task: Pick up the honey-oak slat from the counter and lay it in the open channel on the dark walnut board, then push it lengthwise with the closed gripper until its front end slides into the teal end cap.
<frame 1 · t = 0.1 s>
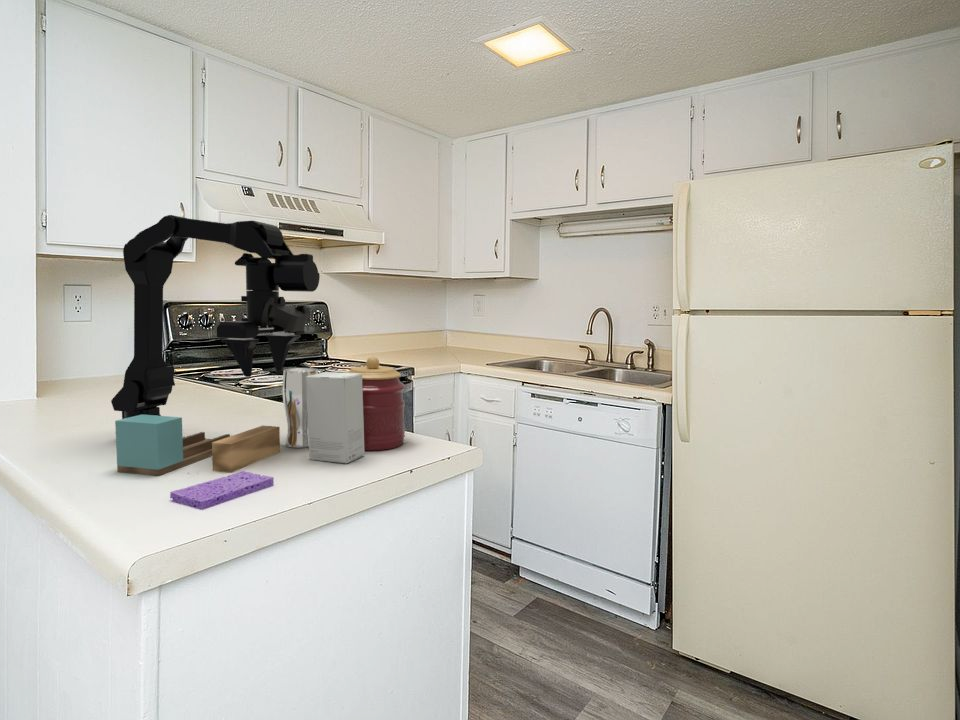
hand: (264, 373, 109), 15 cm above the counter, tool pointing down, fingers open, 9 cm apart
slat: (248, 461, 103), on the counter
skincare box: (336, 459, 106), on the counter
sponges: (224, 497, 86), on the counter
slat board: (182, 457, 104), on the counter
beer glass: (301, 445, 115), on the counter
canister: (372, 444, 117), on the counter
end cap: (150, 441, 96), point 5 cm above the counter
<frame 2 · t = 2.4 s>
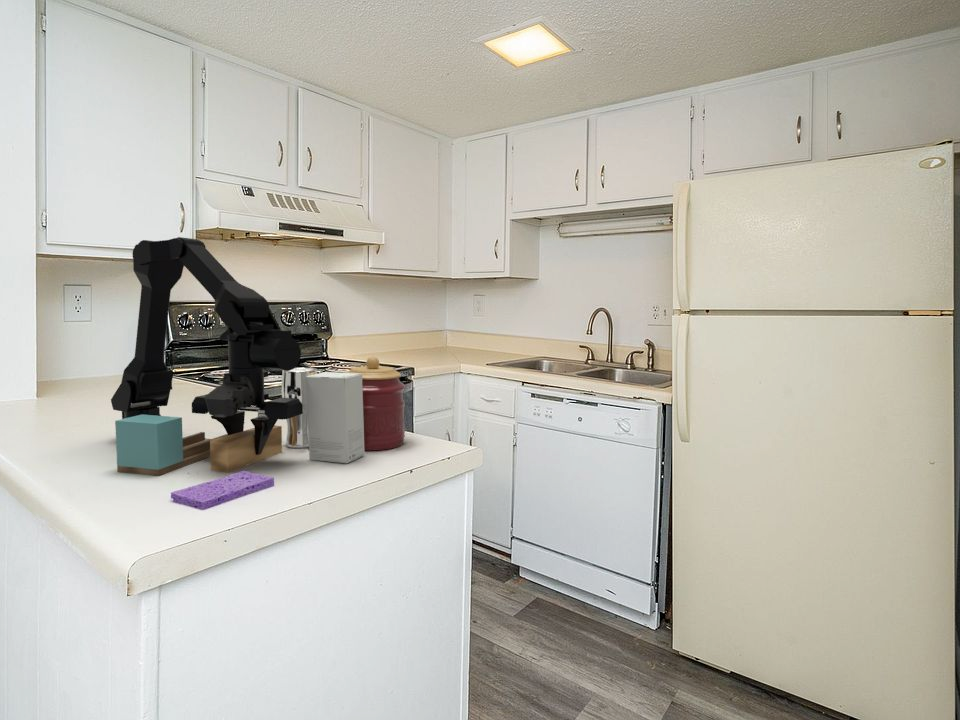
hand: (248, 453, 103), 1 cm above the counter, tool pointing down, fingers closed on slat, 4 cm apart
slat: (248, 460, 103), on the counter, touching gripper
everything else where it was.
when the fingers open (3 cm above the counter, at t = 6.9 s): slat drops 1 cm, resting on slat board.
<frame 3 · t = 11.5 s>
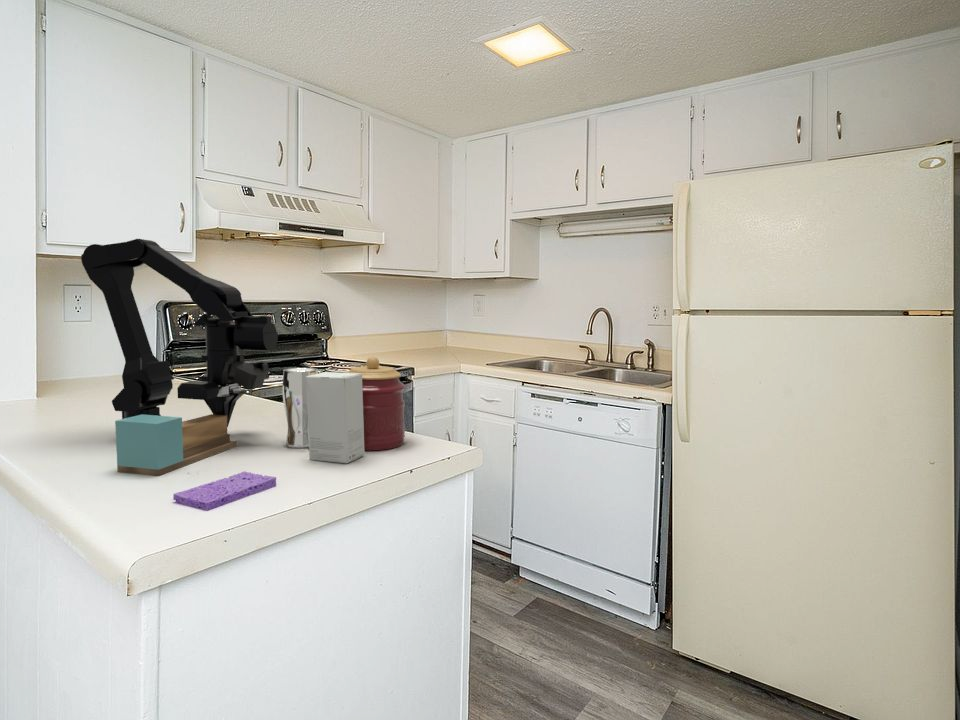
hand: (224, 427, 115), 3 cm above the counter, tool pointing down, fingers closed
slat: (193, 448, 106), point 1 cm above the counter, touching gripper, slat board
everything else where it was.
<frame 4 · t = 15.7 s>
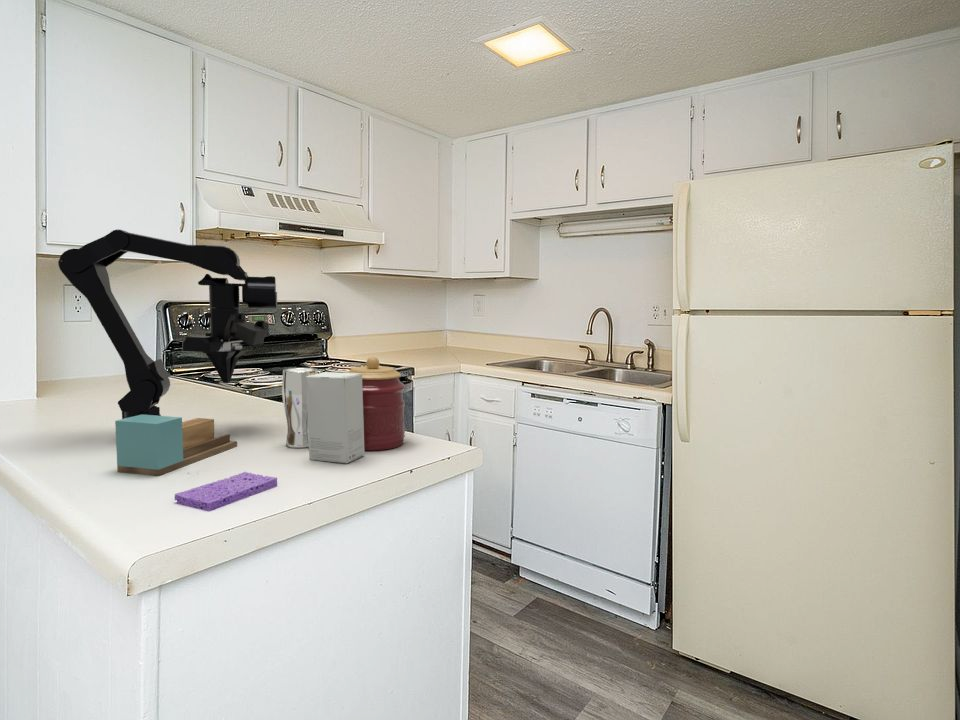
hand: (226, 382, 121), 11 cm above the counter, tool pointing down, fingers closed
slat: (179, 453, 102), point 1 cm above the counter, touching end cap, slat board
at the end: slat 0.2 cm from the target spot on the slat board, point 1.0 cm above the slat board's base; slat tilted 0°; the gripper is holding nothing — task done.
